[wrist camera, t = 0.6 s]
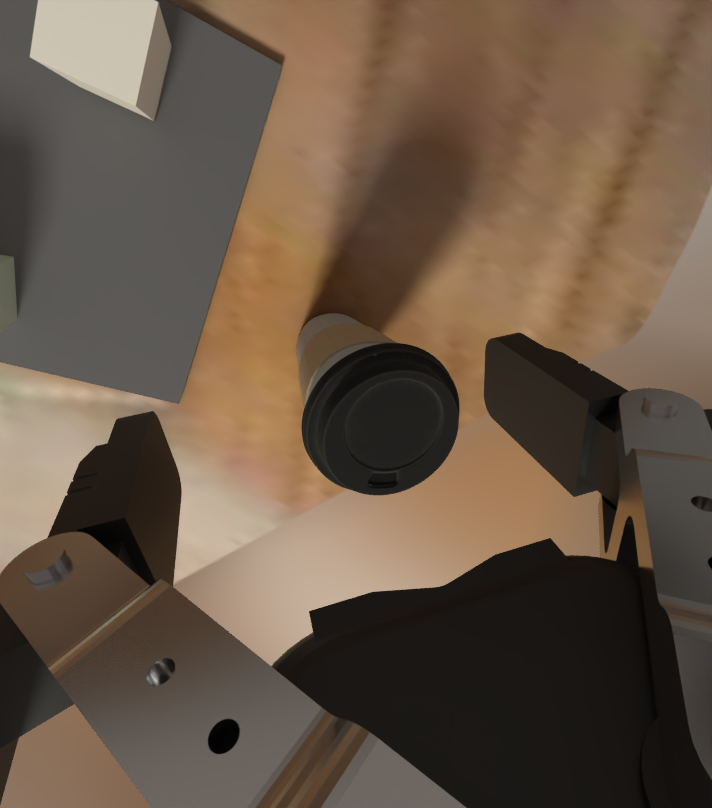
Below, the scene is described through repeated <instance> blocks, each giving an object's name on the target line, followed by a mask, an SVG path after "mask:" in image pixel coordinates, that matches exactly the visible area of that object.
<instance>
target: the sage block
mask: <svg viewBox="0 0 712 808" xmlns="http://www.w3.org/2000/svg"><path fill="white" fill-rule="evenodd" d="M16 319H17V304H16V285H15V267H14V257H12V256H5V255H0V332H1V331H3V330H4V329H5V328H6V327H8V326H9V325H10V324H11V323H12V322H14V321H15V320H16Z"/></svg>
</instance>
